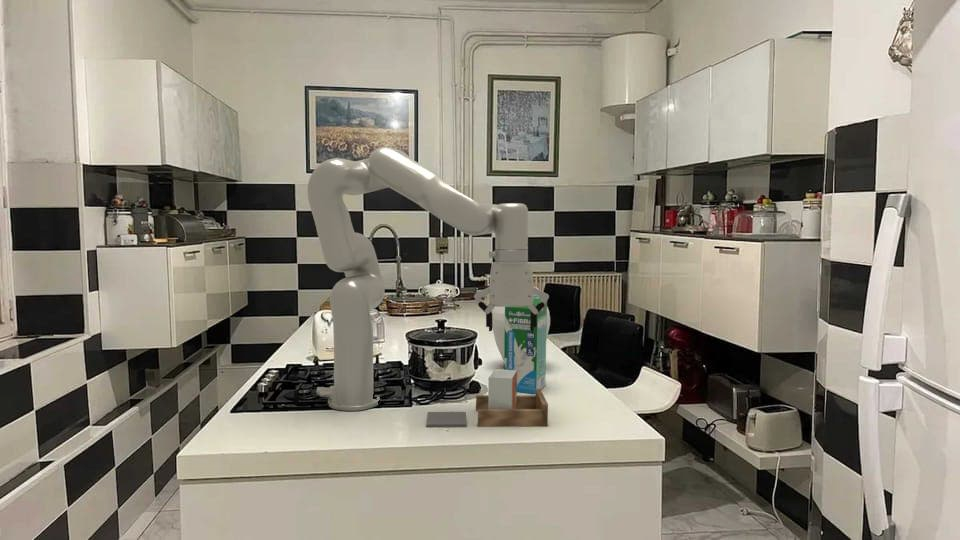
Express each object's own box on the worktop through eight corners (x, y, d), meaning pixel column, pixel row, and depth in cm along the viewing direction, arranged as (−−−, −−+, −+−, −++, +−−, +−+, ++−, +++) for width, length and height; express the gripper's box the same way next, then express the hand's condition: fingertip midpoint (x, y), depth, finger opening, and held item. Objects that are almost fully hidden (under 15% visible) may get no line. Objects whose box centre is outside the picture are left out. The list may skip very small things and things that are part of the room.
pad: (426, 427, 143) (426, 424, 143) (427, 414, 152) (427, 411, 152) (466, 426, 143) (466, 424, 143) (465, 414, 152) (465, 411, 152)
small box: (511, 424, 145) (512, 378, 144) (487, 422, 147) (488, 376, 146) (517, 413, 153) (517, 369, 152) (493, 411, 154) (494, 368, 153)
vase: (559, 366, 200) (560, 286, 198) (532, 378, 185) (533, 292, 183) (509, 359, 209) (510, 282, 207) (480, 370, 194) (480, 288, 192)
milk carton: (503, 390, 173) (504, 298, 170) (514, 382, 181) (515, 294, 179) (535, 394, 169) (537, 300, 167) (545, 385, 178) (547, 296, 175)
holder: (477, 426, 143) (478, 404, 143) (475, 409, 156) (476, 389, 155) (547, 426, 144) (547, 404, 144) (540, 409, 156) (540, 389, 156)
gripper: (473, 258, 145) (473, 333, 147) (550, 258, 144) (549, 333, 146) (474, 255, 153) (475, 327, 154) (548, 256, 152) (547, 327, 153)
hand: (511, 330), depth 150 cm, fingers open, 9 cm apart
